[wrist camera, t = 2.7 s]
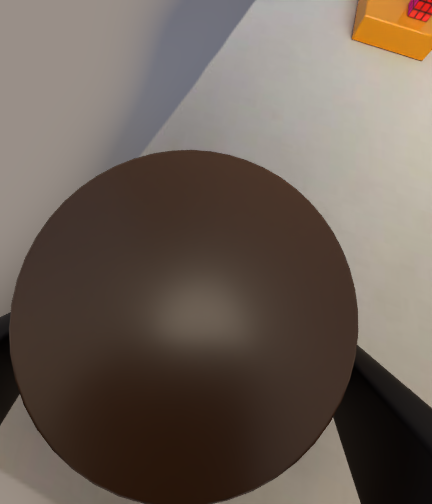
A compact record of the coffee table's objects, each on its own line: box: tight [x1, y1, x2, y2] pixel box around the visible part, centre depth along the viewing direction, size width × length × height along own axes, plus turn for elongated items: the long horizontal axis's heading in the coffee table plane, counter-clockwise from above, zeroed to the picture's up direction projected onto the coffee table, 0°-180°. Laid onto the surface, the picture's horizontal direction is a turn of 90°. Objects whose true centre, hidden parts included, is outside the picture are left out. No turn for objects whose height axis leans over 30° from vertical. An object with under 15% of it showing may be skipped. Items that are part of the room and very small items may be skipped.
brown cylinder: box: [9, 150, 358, 504], centre depth 9 cm, size 6×6×11 cm
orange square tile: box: [352, 0, 432, 61], centre depth 25 cm, size 8×8×4 cm
